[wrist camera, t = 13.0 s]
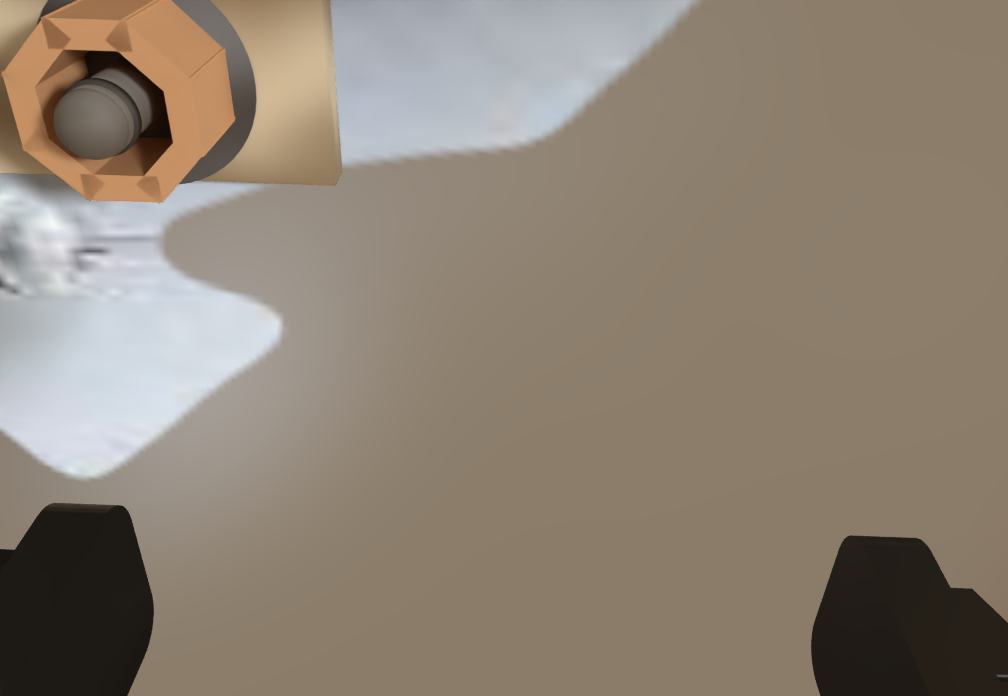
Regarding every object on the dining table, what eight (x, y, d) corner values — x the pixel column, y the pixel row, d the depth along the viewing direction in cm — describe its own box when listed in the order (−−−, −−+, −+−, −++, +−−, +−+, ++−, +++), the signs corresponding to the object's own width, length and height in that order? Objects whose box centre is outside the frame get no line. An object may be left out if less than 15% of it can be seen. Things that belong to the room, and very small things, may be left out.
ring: (40, -10, 32) (-17, 13, 28) (218, -5, 32) (182, 20, 28) (82, 160, 35) (36, 199, 32) (242, 165, 35) (213, 205, 32)
